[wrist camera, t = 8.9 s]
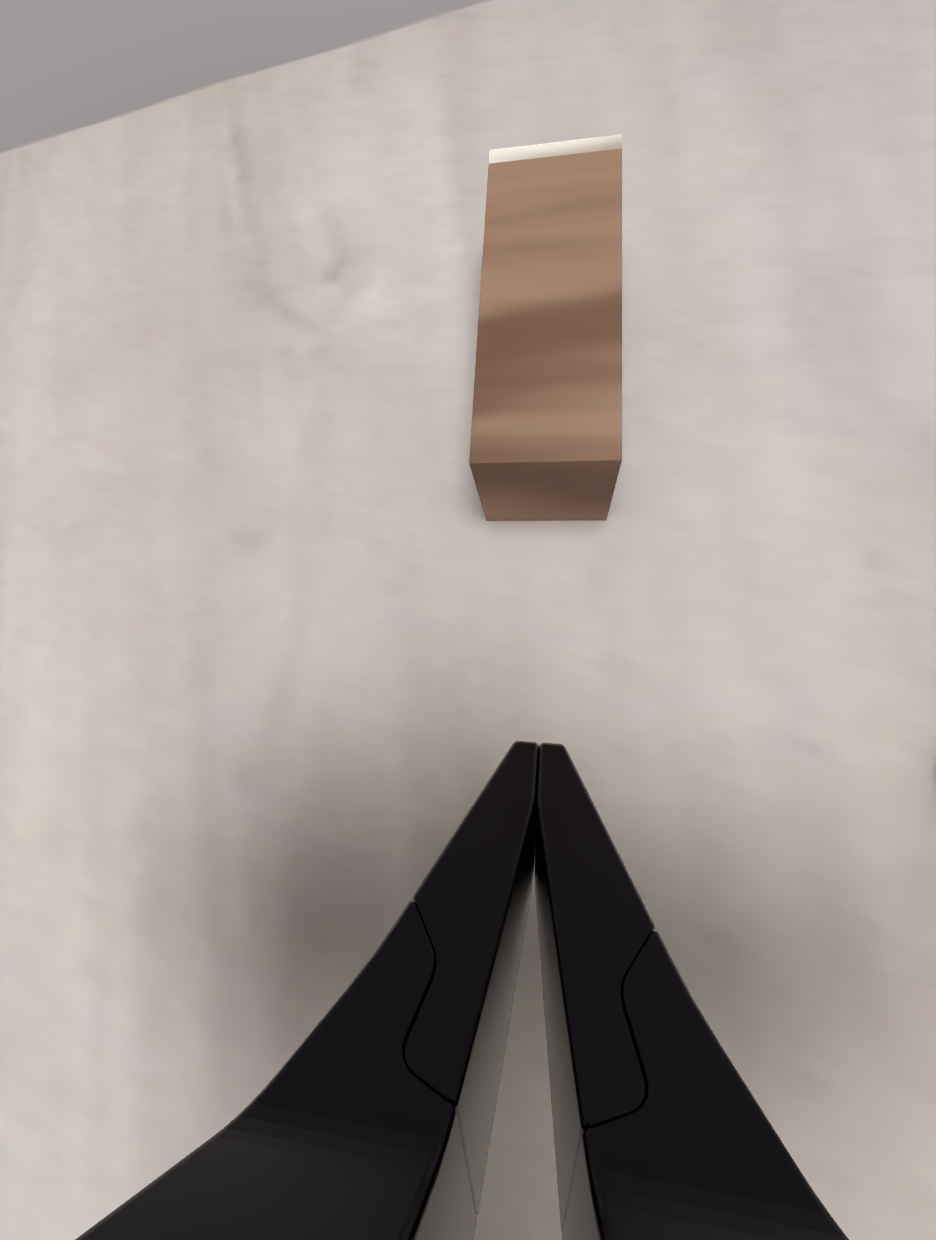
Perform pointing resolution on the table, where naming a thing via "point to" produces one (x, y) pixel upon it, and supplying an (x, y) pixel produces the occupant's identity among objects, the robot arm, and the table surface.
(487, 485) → the walnut block
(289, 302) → the table surface
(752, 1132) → the robot arm
